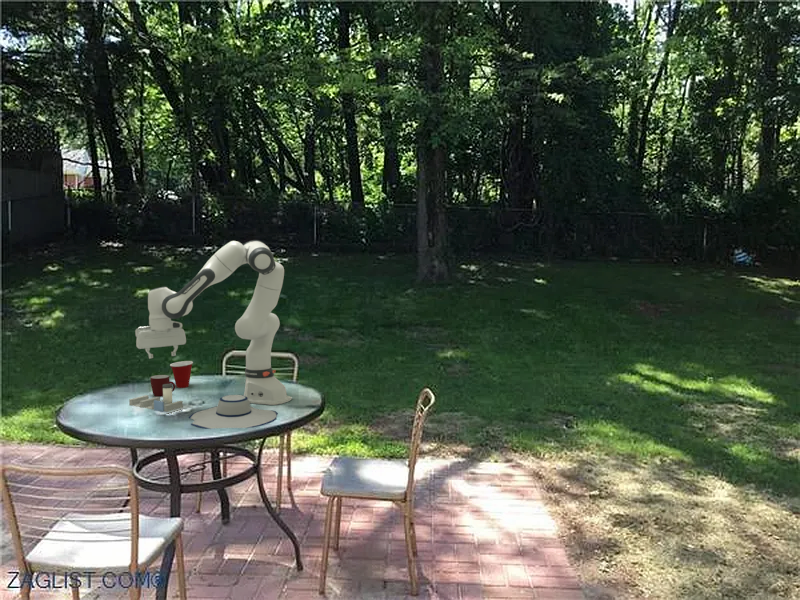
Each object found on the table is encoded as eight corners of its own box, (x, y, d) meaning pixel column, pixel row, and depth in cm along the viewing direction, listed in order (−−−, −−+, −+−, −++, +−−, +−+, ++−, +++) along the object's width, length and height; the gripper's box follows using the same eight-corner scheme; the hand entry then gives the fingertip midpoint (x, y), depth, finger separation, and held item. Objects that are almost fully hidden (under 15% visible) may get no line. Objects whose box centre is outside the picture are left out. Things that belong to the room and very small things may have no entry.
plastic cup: (170, 385, 343) (169, 361, 342) (193, 383, 346) (192, 360, 345) (170, 389, 333) (169, 365, 332) (193, 388, 336) (193, 364, 335)
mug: (174, 395, 322) (173, 373, 321) (176, 398, 315) (176, 377, 314) (150, 397, 318) (149, 375, 317) (152, 401, 311) (151, 379, 310)
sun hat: (177, 415, 291) (177, 393, 290) (260, 404, 310) (259, 384, 309) (202, 436, 260) (202, 412, 259) (292, 423, 279) (292, 400, 278)
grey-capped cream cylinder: (174, 407, 294) (174, 384, 293) (167, 409, 290) (167, 386, 289) (168, 406, 295) (167, 383, 294) (161, 408, 292) (160, 385, 291)
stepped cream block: (182, 410, 295) (182, 397, 294) (165, 415, 287) (165, 402, 286) (146, 404, 305) (145, 391, 305) (128, 408, 297) (128, 396, 296)
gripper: (136, 327, 289) (138, 360, 290) (186, 323, 300) (188, 355, 301) (133, 326, 295) (135, 359, 295) (182, 322, 306) (184, 354, 306)
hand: (162, 357), depth 298 cm, fingers open, 8 cm apart
